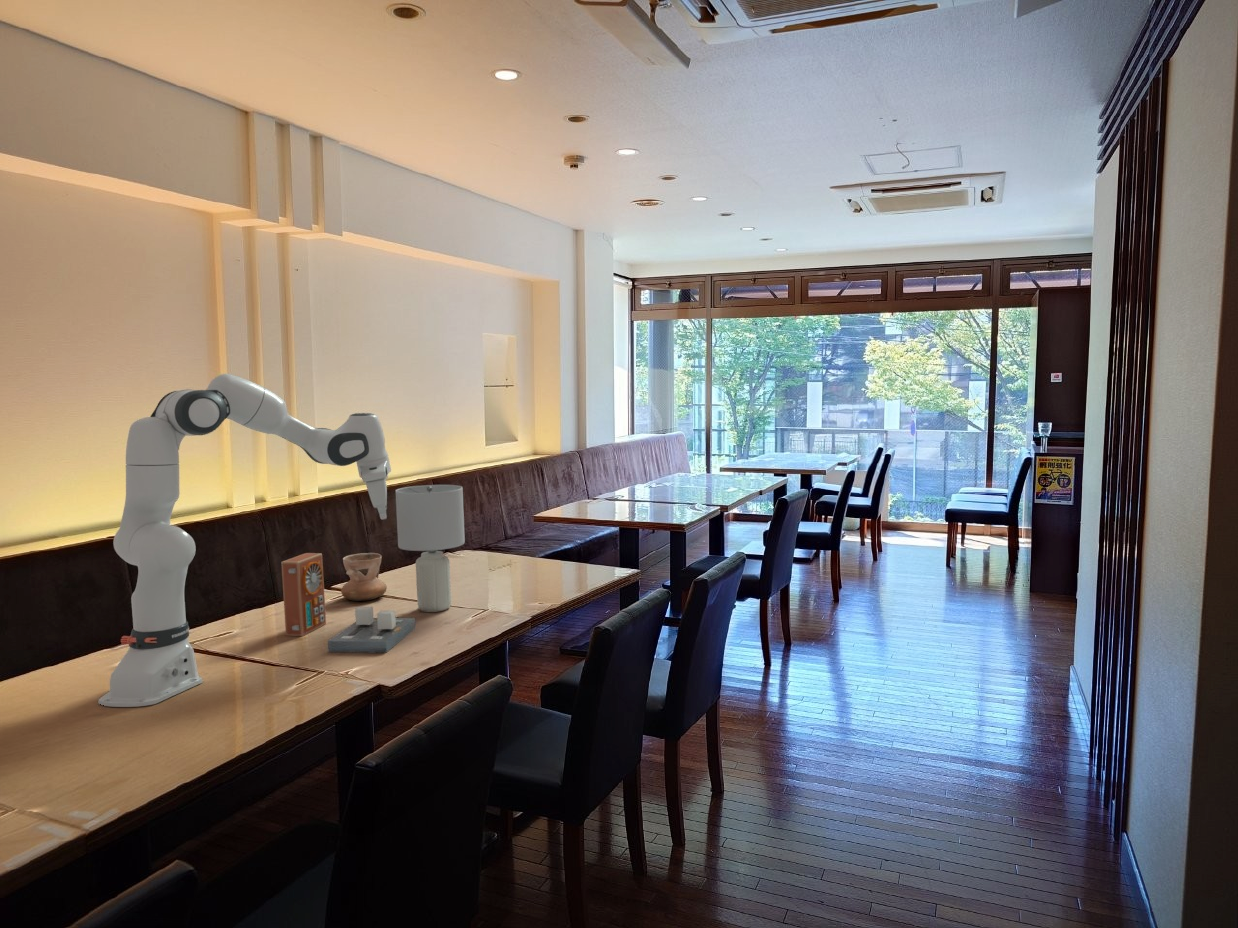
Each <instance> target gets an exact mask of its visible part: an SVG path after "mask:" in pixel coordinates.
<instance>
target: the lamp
mask: <svg viewBox="0 0 1238 928" xmlns="http://www.w3.org/2000/svg"><path fill="white" fill-rule="evenodd" d="M463 491H464V489H463V486H461V485H458V484H456V485H455V484H426V485H424V484H423V485H414V486H405V487H401V488H397V489H395V507H396V508H395V509H396V527H397V547H398V549H400V550H404V551H410V552H411V551H414V552H422V553H421V554H420V557H418V558H417V559H416V560H415V576H416V577H415V581H416V598H417V599H416V601H417V602H416V603H417V607H418V609H419V610H420V611H422V612H425V613H436V612H438V613H439V612H444V611H445V610H448V609H449V608H450V606H451V605H452V591H451V590H452V589H451V568H450V567H451V566H450V563H451V562H450V559H449V557H448V556H447V555H445V554H444V552H443V550H449V549H455V548H458V547H460V546H463V545H464V544H465V541H466V539H465V537H466V536H465V516H464V513H465V511H464V494H463V493H464V492H463Z"/></svg>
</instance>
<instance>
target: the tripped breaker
mask: <svg viewBox="0 0 1238 928" xmlns="http://www.w3.org/2000/svg"><path fill="white" fill-rule="evenodd" d="M376 618H377V622H378V629H393V628H394V627H395V626H396V618H397V617H396V610H389V609H388V610H383V609H382V610H379V611H378V612H377V613H376Z"/></svg>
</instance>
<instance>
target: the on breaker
mask: <svg viewBox="0 0 1238 928" xmlns="http://www.w3.org/2000/svg"><path fill="white" fill-rule="evenodd" d="M354 616H355V622H356V625H370V624H371V623H373V622H374V618H375V617H374V606H357V608H355V609H354Z"/></svg>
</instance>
